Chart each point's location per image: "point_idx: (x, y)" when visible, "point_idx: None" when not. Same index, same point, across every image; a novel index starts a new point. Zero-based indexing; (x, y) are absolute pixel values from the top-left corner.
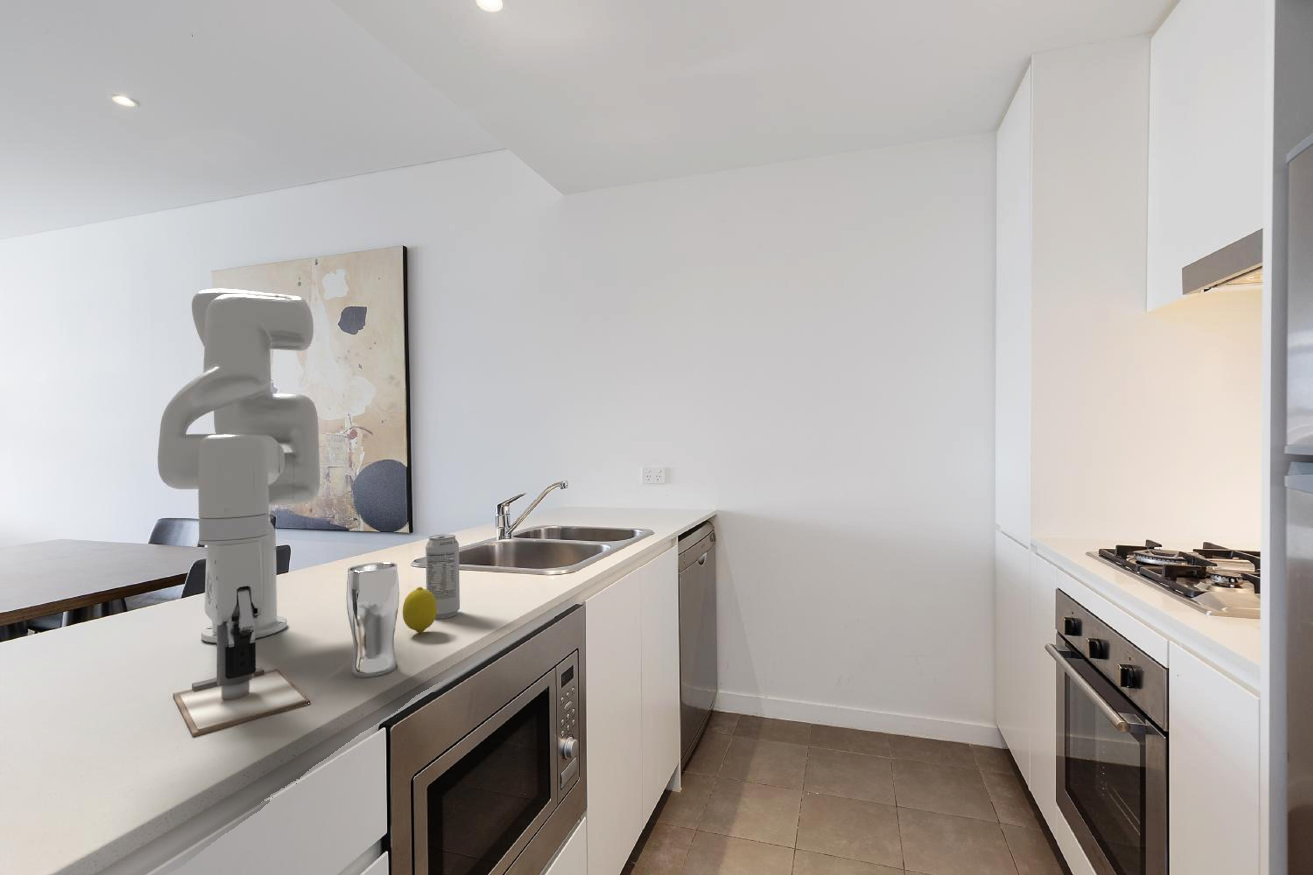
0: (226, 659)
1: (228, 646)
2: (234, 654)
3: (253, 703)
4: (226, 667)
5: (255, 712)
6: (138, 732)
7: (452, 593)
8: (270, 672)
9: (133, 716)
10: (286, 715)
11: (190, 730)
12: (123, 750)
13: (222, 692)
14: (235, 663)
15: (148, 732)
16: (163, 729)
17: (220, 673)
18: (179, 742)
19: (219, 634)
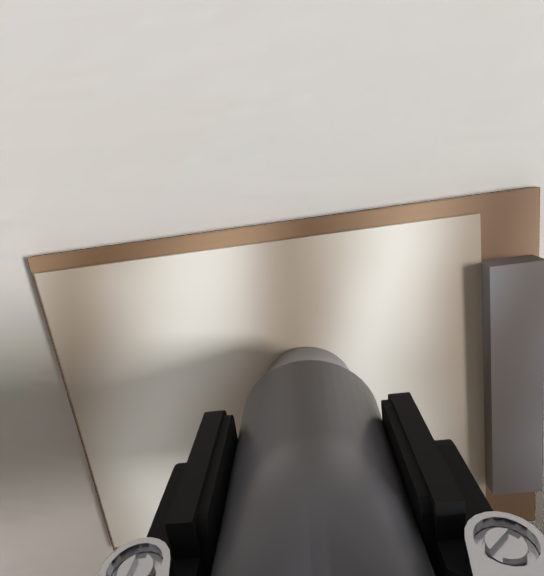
0: (187, 472)
1: (149, 544)
2: (153, 524)
3: (177, 427)
4: (197, 443)
5: (87, 426)
6: (187, 90)
7: None
8: (504, 497)
9: (391, 55)
10: (61, 484)
11: (74, 250)
12: (35, 56)
13: (292, 360)
14: (166, 489)
15: (164, 123)
16: (163, 169)
17: (267, 398)
18: (9, 220)
19: (265, 567)
